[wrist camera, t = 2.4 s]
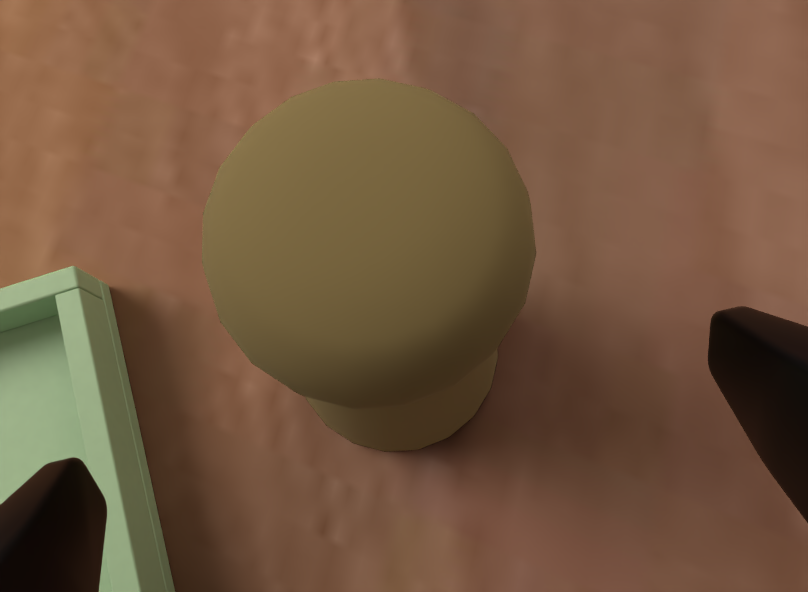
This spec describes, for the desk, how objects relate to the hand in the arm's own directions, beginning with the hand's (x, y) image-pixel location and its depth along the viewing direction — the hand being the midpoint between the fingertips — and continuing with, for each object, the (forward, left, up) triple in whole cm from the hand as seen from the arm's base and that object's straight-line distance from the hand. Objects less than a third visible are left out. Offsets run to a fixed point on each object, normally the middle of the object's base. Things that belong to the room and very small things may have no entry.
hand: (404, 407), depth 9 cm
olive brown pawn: (+3, 0, -10) cm, 10 cm away
